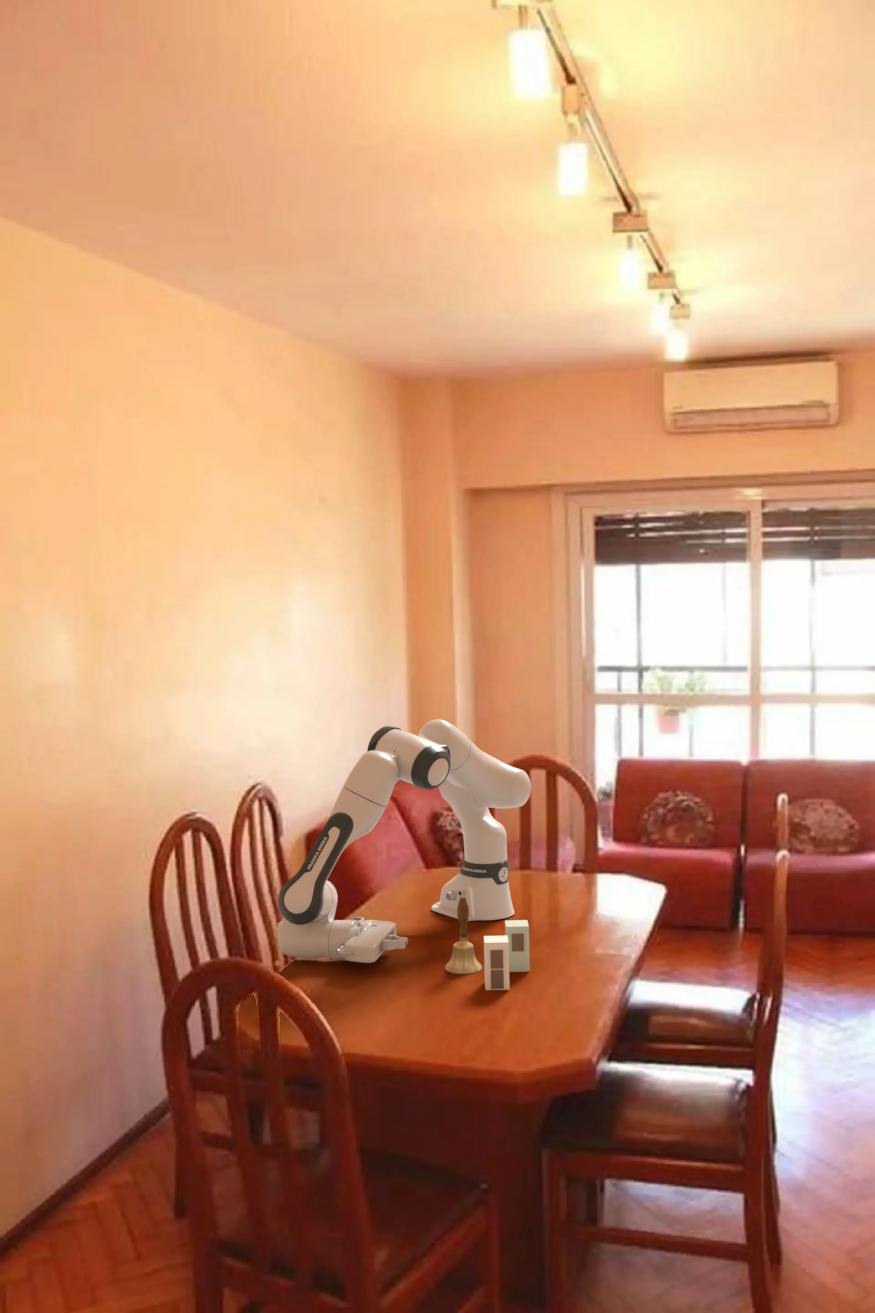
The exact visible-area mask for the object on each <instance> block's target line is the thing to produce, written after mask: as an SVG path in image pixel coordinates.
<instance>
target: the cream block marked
mask: <svg viewBox="0 0 875 1313" xmlns="http://www.w3.org/2000/svg"><path fill="white" fill-rule="evenodd" d="M483 959H484V960H483V962H484V964H483V965H484V967H483V968H484V987H485V988H484V989H485V991H510V990H511V989H510V972H509V942H508V936H507V935H505V934H504V935H483Z"/></svg>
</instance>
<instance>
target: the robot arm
mask: <svg viewBox="0 0 875 1313" xmlns="http://www.w3.org/2000/svg"><path fill="white" fill-rule="evenodd" d="M366 749H367V750H366V752H365V753H363V754H361V757H360V758H359V759H358V761H357V762H356V763H355V765H354V767H353V768H352V769H351V771H350V772H349V775H348V777H347V778H346V780H345V782H344V784H343V786H342V788H341V790H340V792H339V794H338V796H337V798H336V800H335V803H334V805H333V807H332V810H331V811H330V813H329V816H328V818H327V820H326V822H325V824H324V826H323V827H322V830H321V831H320V833H319V835H318V837H317V838H316V840H315V841H314V844H313V846H312V847H311V849H310V851H309V852H308V855H306V858H305V860H304V862H303V863H302V865H301V866H300V867H299V868H300V869H299V870H298V871H297V873H295V875H294V876H292V877H291V878H289V880H287V882H286V883H284V884H283V885H282V887H281V889H280V891H279V893H278V897H277V903H278V904H277V905H278V909H279V911H280V914H281V915H282V916H283V918H282V919H281V921H279V922H278V924H277V928H276V932H275V933H276V942H277V945H278V947H279V949H280V951H281V952H282V953H283V954H284V955H286V956H288V957H293V958H298V959H306V960H308V959H309V960H317V959H320V958H322V959H326V960H327V959H328V960H330V961H348V962H356V963H363V964H370V963H375V962H376V961H377V960H378V959H379V957H381V955H383V954H384V952H385V951H392V950H397V949H398V950H404V949H405V948H406V947H407V946H408V944H409V938H408V937H404V936H398V934H397V924H396V923H395V922H392V921H387V920H375V919H366V920H365V918H364V917H360V916H356V917H353V918H350V919H335V918H336V912H337V907H338V902H339V896H338V895H339V894H338V891H337V888H336V887H335V885H334V884H333V883H332V882H331V881H330V880H328V879H329V877H330V875H331V874H332V871H333V870H334V867H335V866H336V864H337V862H338V861H339V859H340V857H341V855H342V854H343V852H344V851H345V850H346V849H347V848H348V847H349V846H350V845H351V844H352V843H353V842H355V841H357V840H358V839H360V838H362V837H364V836H365V835H367V834H369V833H370V832H372V830H373V829H374V828H375V827H376V825H377V824H378V822H379V821H380V819H381V818H382V816H383V814H384V812H385V810H386V808H387V806H388V803H389V802H390V798H391V797H392V794H393V791H394V789H395V785H396V784H397V783H399V781H400V780H401V781H403V782H406V783H408V784H411V785H414V786H415V787H417V788H419V789H422V790H428V791H429V790H430V791H433V790H435V789H436V788H438V790H439V793H440V795H441V797H442V799H444V800H445V801H446V802H447V803H448V805H450V806H451V808H452V810H454V812H455V813H456V815H457V818H458V820H459V823H460V826H461V830H462V834H463V848H464V851H463V852H464V858H463V859H462V860H460V861H456V863H457V865H456V867H460V869H459V872H458V874H456V875H455V876H454V877H452V878H451V879H450V880H449V881H447V882H446V883H445V884H444V885H443V886H442V888H441V890H440V891H441V892H440V897H439V899H440V900H439V901H437V902H436V903H433V905H432V906H431V911H433V912H436V913H439V914H441V915H445V916H447V917H449V918H453V919H456V920H458V916H457V907H458V904H459V900H460V897H466V901H467V904H468V908H469V917H468V922H471V921H472V922H474V921H496V920H497V921H498V920H502V919H507V918H510V917H512V916H513V915H515V910H514V909H515V908H514V906H513V901H512V897H511V896H512V895H511V890H510V885H509V875H510V862H509V860H510V859H508V841H507V840H508V839H507V838H508V836H507V831H506V828H505V826H504V825H503V824H502V823H501V822H499V821H498V820H496V819H495V818H494V817H493V815H492V814H491V811H490V809H489V808H492V809H501V810H504V809H505V810H506V809H507V810H508V809H513V808H514V809H515V808H520V807H522V806H524V805H525V804H526V803H527V802H528V801H529V799H530V797H531V792H532V783H531V782H532V781H531V780H530V777H529V775H528V773H527V771H526V770H523V769H520V768H518V767H514V766H512V765H510V764H507V763H505V762H503V761H501V760H500V759H498V758H495V757H494V756H492V755H490V754H488V753H487V752H485V751H483V750H481V749H480V748H479V747H478V746H477V745H476V744H475V743H474V742H473V741H471V739H470V738H469V737H468V736H467V735H466V734H465V733H464V732H463V731H461V730H460V729H459V728H458V727H456V726H455V725H454V724H452V723H450V722H448V721H446V720H445V719H442V718H441V719H440V718H437V719H431V720H429V721H428V722H425V724H424V725H423V726H422V727H421V729H420V730H419V732H418V735H416V734H414V733H412V732H408V731H405V730H403V729H401V728H400V727H397V726H390V725H386V726H382V727H381V728H379V729H378V730H377V731H376V732H375V733H373V735H372V736H371V738H370V740H369V742H368V746H367V748H366Z"/></svg>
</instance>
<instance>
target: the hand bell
mask: <svg viewBox="0 0 875 1313" xmlns="http://www.w3.org/2000/svg"><path fill="white" fill-rule="evenodd" d="M457 916H458V919H457V921H458V924H459V940H458V941H457V942H455V943H454V944H453V945H452V952H451V957H450V959H449V961H448V962H447V963H446V965H445V966H444V970H445V971H446V972H448V973H450V974H454V975H471V974H477V973H480V972H481V971H482V970H483V966H482V964H481V963H480V962H479V961H478V959H477V958H476V955H475V948H474V944H473V943H471V942H469V941H468V929H467V928H468V926H467V924H468V922H469V921H468V917H469V908H468V904H467V901H466V897H460V900H459V904H458V907H457Z"/></svg>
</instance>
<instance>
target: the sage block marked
mask: <svg viewBox="0 0 875 1313" xmlns="http://www.w3.org/2000/svg"><path fill="white" fill-rule="evenodd" d="M505 935H507V936H508V942H509V973H521V972H523V973H525V972H526V973H528V972H529V973H530V972H531V971H530V970H531V966H530V958H531V957H530V926H529V922H528V919H520V920H519V919H515V920H513V919H512V920H511V919H510V920H504V936H505Z"/></svg>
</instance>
